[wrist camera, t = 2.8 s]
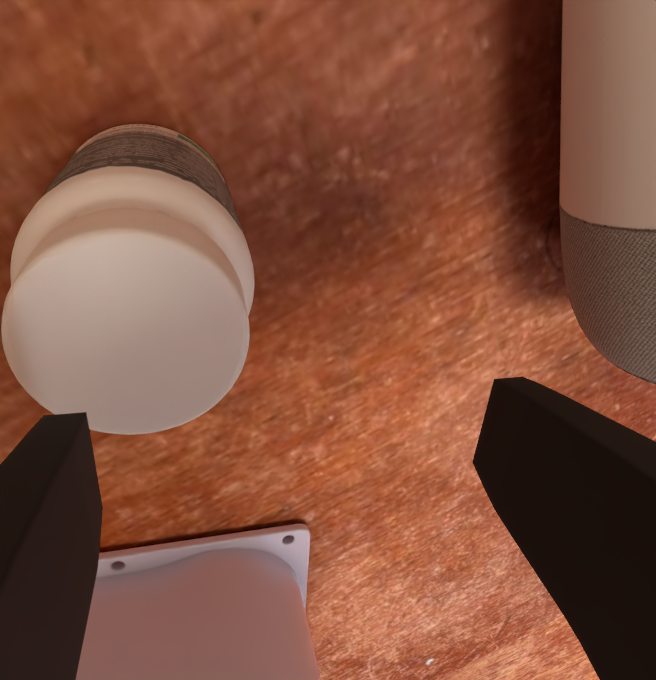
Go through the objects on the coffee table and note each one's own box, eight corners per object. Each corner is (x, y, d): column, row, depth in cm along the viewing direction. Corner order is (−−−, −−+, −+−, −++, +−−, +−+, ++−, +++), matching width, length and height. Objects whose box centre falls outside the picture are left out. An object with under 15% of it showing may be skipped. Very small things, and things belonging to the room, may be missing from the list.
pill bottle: (40, 128, 15) (-85, 220, 7) (218, 114, 16) (257, 183, 8) (87, 289, 17) (26, 475, 10) (239, 268, 18) (284, 425, 11)
